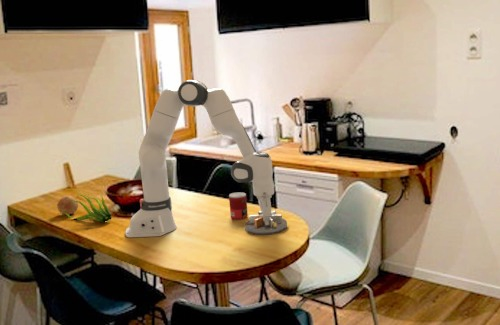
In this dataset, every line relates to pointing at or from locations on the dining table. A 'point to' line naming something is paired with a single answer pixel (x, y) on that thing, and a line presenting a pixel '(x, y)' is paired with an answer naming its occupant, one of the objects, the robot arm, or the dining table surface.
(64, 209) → the onion
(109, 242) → the dining table surface
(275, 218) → the finned rotor disc
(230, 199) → the canned food
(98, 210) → the decorative plant
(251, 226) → the disc
